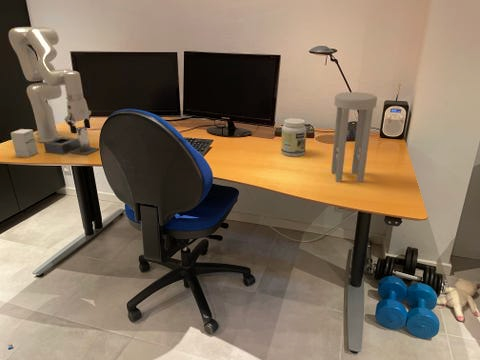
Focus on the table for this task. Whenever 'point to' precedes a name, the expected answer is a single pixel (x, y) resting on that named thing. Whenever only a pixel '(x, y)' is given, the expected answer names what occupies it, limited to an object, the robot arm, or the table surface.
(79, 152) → the mat
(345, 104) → the stool
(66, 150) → the housing
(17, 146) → the supplement box
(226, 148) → the table surface
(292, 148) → the supplement tub
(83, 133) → the cover plug
